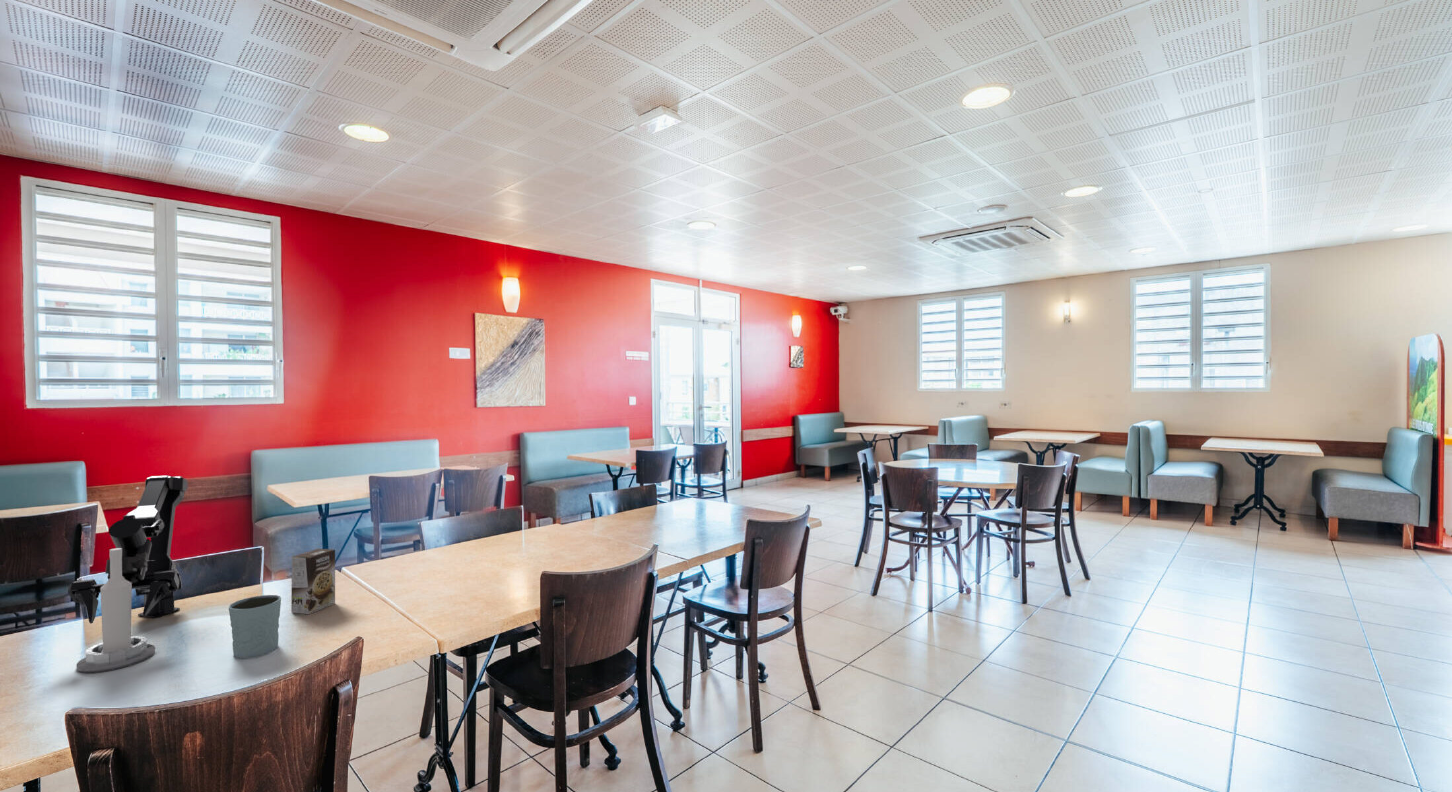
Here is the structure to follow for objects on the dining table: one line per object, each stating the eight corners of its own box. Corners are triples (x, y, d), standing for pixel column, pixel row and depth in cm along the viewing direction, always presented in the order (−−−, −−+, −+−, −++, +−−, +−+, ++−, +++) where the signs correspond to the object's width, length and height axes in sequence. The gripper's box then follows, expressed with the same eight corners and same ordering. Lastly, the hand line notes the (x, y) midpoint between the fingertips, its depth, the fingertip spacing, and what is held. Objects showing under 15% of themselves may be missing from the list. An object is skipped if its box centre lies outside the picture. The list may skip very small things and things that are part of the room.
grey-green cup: (239, 663, 141) (239, 612, 141) (221, 653, 146) (221, 603, 146) (289, 647, 150) (289, 599, 149) (270, 638, 155) (270, 591, 155)
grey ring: (61, 669, 138) (60, 654, 137) (129, 645, 150) (129, 631, 150) (103, 676, 135) (103, 660, 134) (169, 651, 147) (169, 636, 147)
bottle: (94, 660, 140) (93, 552, 139) (116, 650, 145) (114, 546, 144) (118, 660, 140) (116, 552, 139) (139, 650, 145) (137, 546, 145)
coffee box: (309, 614, 171) (309, 557, 170) (290, 612, 172) (290, 556, 172) (336, 603, 180) (336, 549, 179) (318, 601, 181) (317, 547, 181)
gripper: (70, 547, 142) (49, 610, 133) (175, 538, 152) (163, 595, 143) (84, 572, 149) (65, 632, 140) (184, 561, 159) (173, 617, 150)
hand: (117, 618), depth 143 cm, fingers open, 9 cm apart
